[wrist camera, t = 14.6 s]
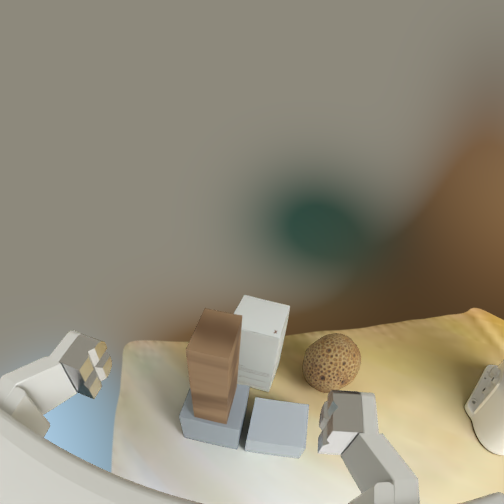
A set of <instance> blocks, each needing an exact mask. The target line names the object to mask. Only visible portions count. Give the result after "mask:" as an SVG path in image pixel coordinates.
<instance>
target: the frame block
mask: <svg viewBox="0 0 504 504" xmlns="http://www.w3.org/2000/svg"><path fill="white" fill-rule="evenodd" d="M241 328H242V315H237V314H231V313H226V312H221V311H216V310H211V309H206V308H205V309H204V311H203V314H202V316H201V318H200V320H199V322H198V324H197V326H196V328H195V331H194V333H193V335H192V337H191V339H190V341H189V344H188V346H187V348H186V355H187V364H188V373H189V381H190V389H191V396H192V404H193V411H194V417H197V418H201V419H205V420H209V421H213V422H218V423H222V424H227V421H228V417H229V414H230V410H231V406H232V403H233V399H234V395H235V392H236V388H237V378H238V365H239V353H240V340H241Z"/></svg>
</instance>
